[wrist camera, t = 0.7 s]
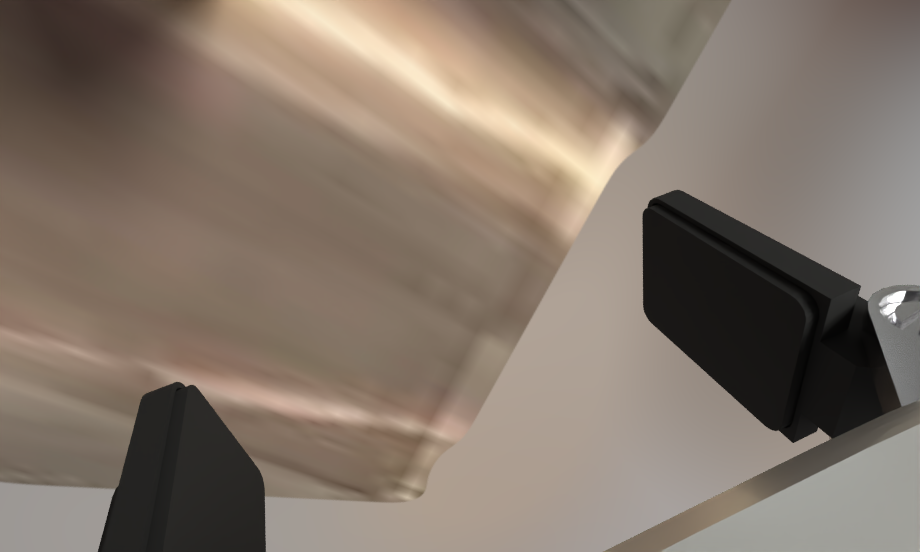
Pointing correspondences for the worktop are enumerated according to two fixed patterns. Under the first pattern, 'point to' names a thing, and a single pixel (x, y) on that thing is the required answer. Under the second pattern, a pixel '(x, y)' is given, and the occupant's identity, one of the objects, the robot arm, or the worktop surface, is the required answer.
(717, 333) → the robot arm
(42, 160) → the worktop surface
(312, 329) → the worktop surface
